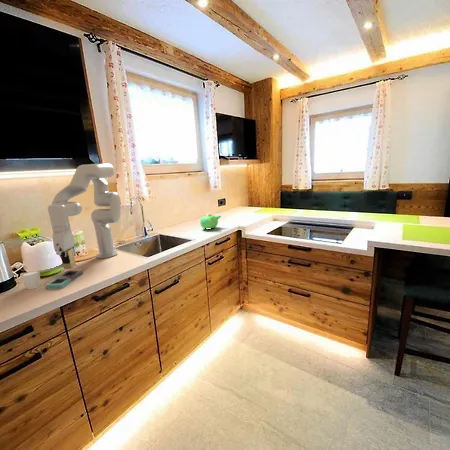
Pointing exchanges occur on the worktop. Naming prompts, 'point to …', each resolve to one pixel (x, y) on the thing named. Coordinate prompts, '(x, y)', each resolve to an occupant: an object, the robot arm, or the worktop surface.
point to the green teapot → (209, 221)
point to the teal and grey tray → (63, 280)
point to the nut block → (70, 259)
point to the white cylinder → (31, 279)
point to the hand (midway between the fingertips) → (68, 261)
